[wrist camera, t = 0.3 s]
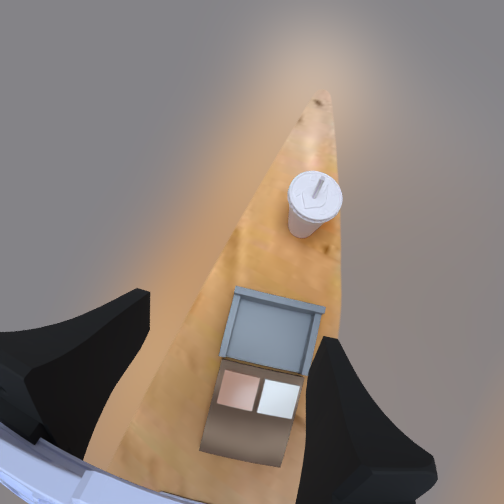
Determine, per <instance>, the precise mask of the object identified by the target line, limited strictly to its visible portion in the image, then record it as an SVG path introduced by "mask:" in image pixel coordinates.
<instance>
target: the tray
mask: <svg viewBox="0 0 504 504" xmlns="http://www.w3.org/2000/svg"><path fill="white" fill-rule="evenodd" d="M325 308H326V307H323V306H319V305H314V304H310V303H306V302H301V301H297V300H293V299H288V298H284V297H280V296H276V295H271V294H267V293H263V292H259V291H255V290H251V289H247V288H242V287H238V286H236V287H235V291H234V298H233V301H232V305H231V309H230V313H229V317H228V321H227V325H226V329H225V333H224V337H223V341H222V345H221V348H220V352H219V356H221V357H230V358H234V359H238V360H243V361H247V362H251V363H255V364H260V365H264V366H269V367H273V368H278V369H283V370H288V371H293V372H298V373H299V374H302V375H307V376H308V372H309V369H310V365H311V361H312V357H313V352H314V348H315V343H316V338H317V334H318V329H319V324H320V319H321V315H322V314H324V313H325Z"/></svg>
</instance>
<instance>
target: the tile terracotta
mask: <svg viewBox="0 0 504 504" xmlns="http://www.w3.org/2000/svg"><path fill="white" fill-rule="evenodd" d="M259 381H260V377H258V376H253V375H249V374H245V373H240V372H236V371H232V370H228V369H225V372H224V376H223V380H222V384H221V388H220V392H219V396H218V400H217V403H218V404H222V405H226V406H230V407H234V408H239V409H243V410H247V411H252V409H253V405H254V401H255V397H256V393H257V389H258V385H259Z"/></svg>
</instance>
